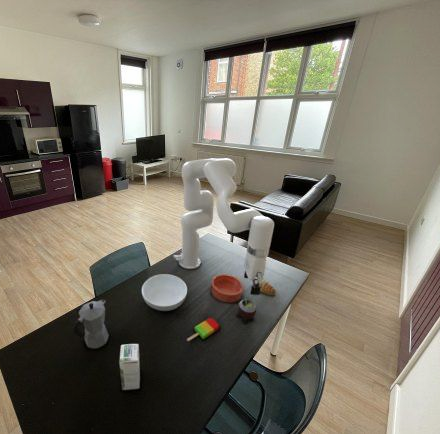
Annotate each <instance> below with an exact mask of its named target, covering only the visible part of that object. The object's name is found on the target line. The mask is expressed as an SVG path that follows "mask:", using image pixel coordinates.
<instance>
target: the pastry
mask: <svg viewBox="0 0 440 434" xmlns="http://www.w3.org/2000/svg"><path fill="white" fill-rule="evenodd" d="M262 281H263V285H262V287H261V289H260V293H262V294H264V295H268V296H274V295H275V294H276V292H277V290H276V289H275V288H274V286H273V285H272V284H271V283H269V282H268V281H266V280H264V279H263V280H262ZM255 284H258V281H255Z"/></svg>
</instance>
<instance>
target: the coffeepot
mask: <svg viewBox="0 0 440 434" xmlns="http://www.w3.org/2000/svg"><path fill="white" fill-rule="evenodd" d="M106 302H107V300H105V299H100V300H97V301H95V300H92V301H89V302H87V303H85V304H83V305H82V307H81V308H80V310H79V311H78V315H79V317H78V319H77V320H76V321H75V322H73V326H72V328H71V330H72V332H73V334H75V335H76V336H77V337H78V338H79V339H82V338H83V337H84V342H85V344H86V347H87V348H90V349H99V348H101V347H103V346H104V345H105V344H107V342H108V339H109V336H110V334H109V332H108V329H107V328H106V325H105V319H106V307H105V303H106ZM82 324H83V326H84V332H83V333H82V332H81V331H80V330H79V328H78V327H79V326H80V325H82Z"/></svg>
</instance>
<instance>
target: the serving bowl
mask: <svg viewBox="0 0 440 434" xmlns="http://www.w3.org/2000/svg"><path fill="white" fill-rule="evenodd" d="M187 286H188V285H187V284H186V283H185V281H184V280H183V279H182V278H180V277H179V276H176V275H174V274H168V273H161V274H160V273H159V274H156V275H153V276H150V277H149V278H148V279H146V280H145V282H144V283H143V284H142V286H141V295H142V298H143V301H144V302H145V303H146V304H147V306H149V307H150V308H151V309H154V310H155V311H159V312H160V311H161V312H169V311H173V310H175V309H177V308H178V307H180V306H181V305H182V304H183V303H184V301H185V300H186V298H187V295H188V287H187Z"/></svg>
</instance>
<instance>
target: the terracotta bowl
mask: <svg viewBox="0 0 440 434" xmlns="http://www.w3.org/2000/svg"><path fill="white" fill-rule="evenodd" d="M240 283H241V284H242V286H243V287H244V285H243V282H242V281H241V280H240V279H239V278H238V277H236V276H234V275H232V274H225V273H222V274H217V275H215V276H214V277H213V278H212V279H211V285H210V291H211V294H212V295H213V296H214V297H215V298H216V299H217V300H219V301H220V302H223V303H230V304H231V303H236V302H238V301H239V300H240V299H241V298H242V296H243V293H244V292H243V288H242V286H241V285H240Z"/></svg>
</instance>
